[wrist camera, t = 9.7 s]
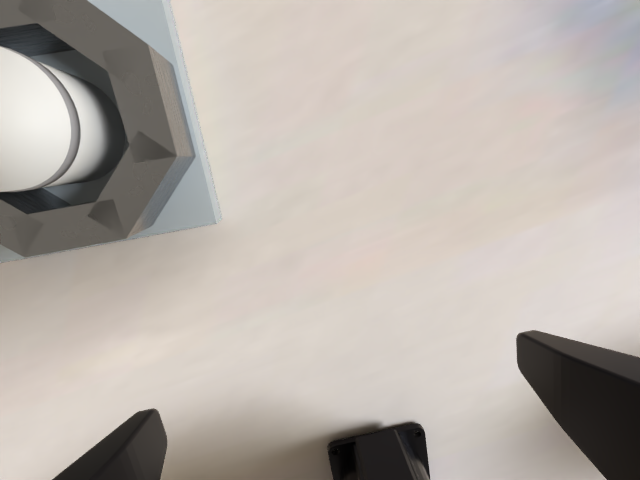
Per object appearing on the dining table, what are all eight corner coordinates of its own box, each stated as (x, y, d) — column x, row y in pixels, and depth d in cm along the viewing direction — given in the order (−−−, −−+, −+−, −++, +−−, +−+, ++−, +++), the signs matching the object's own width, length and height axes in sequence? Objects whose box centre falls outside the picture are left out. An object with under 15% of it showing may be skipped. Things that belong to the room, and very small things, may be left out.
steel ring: (210, 214, 18) (195, 226, 15) (8, 252, 17) (-49, 271, 14) (155, -7, 15) (124, -46, 12) (-82, 28, 15) (-173, -4, 12)
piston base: (221, 218, 19) (190, 247, 13) (17, 256, 19) (-120, 304, 12) (168, -6, 17) (95, -106, 10) (-72, 30, 16) (-303, -53, 10)
